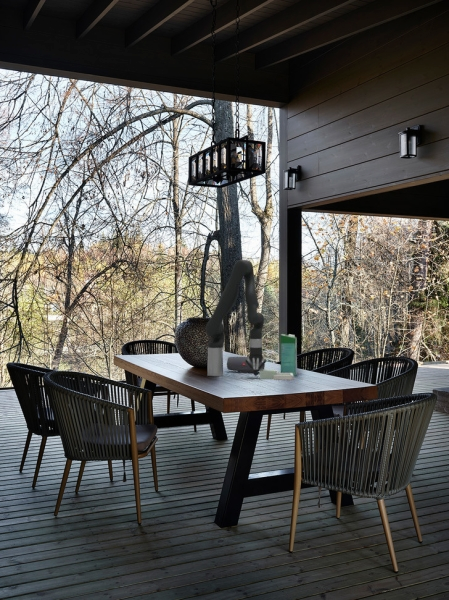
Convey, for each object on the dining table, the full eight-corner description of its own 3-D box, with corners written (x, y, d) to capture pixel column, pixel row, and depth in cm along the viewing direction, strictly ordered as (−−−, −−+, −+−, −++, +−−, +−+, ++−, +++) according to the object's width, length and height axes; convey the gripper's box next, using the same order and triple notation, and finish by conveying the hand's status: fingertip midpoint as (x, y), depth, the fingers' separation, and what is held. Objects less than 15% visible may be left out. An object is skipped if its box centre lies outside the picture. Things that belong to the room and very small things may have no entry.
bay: (273, 379, 367) (273, 375, 366) (273, 377, 378) (273, 372, 378) (293, 379, 366) (293, 375, 366) (292, 377, 378) (292, 372, 378)
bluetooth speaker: (226, 372, 400) (226, 357, 400) (231, 370, 409) (230, 355, 409) (261, 374, 393) (261, 358, 393) (264, 372, 401) (264, 356, 401)
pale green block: (259, 379, 370) (259, 369, 370) (260, 378, 376) (259, 368, 376) (276, 379, 369) (276, 369, 369) (276, 378, 375) (276, 368, 375)
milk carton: (295, 375, 383) (295, 334, 383) (280, 375, 385) (280, 334, 385) (296, 373, 392) (296, 333, 392) (282, 373, 394) (282, 333, 394)
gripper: (244, 346, 370) (244, 376, 370) (267, 347, 369) (266, 376, 369) (245, 345, 377) (244, 374, 377) (267, 345, 376) (267, 374, 376)
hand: (255, 375), depth 373 cm, fingers closed
